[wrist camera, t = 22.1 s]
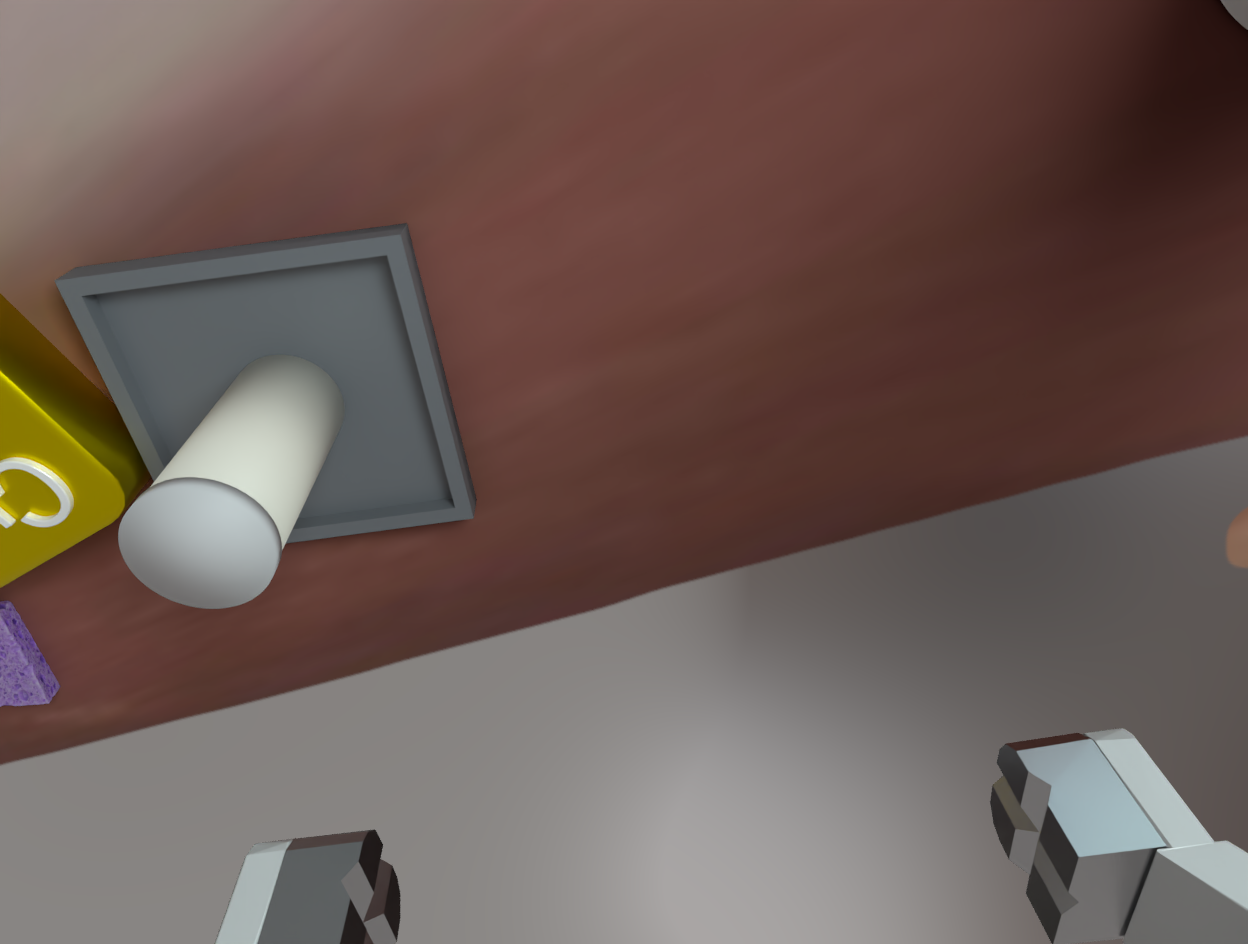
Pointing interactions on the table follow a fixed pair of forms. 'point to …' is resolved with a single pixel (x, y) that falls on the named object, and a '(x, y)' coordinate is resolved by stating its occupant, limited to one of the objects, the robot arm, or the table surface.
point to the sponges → (22, 664)
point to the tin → (235, 487)
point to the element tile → (55, 451)
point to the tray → (297, 326)
